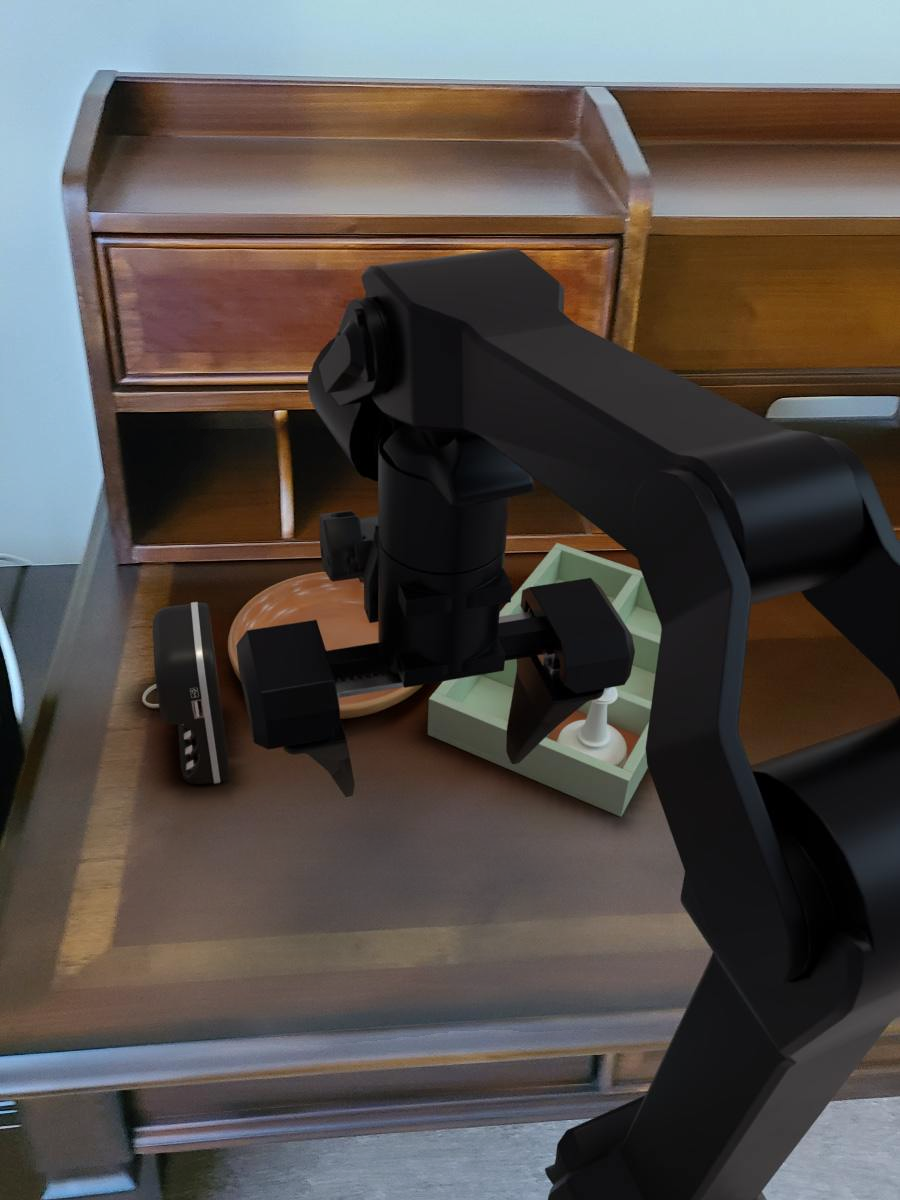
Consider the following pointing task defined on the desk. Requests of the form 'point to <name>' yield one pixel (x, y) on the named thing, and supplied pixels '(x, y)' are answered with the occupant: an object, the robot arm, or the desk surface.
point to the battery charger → (191, 690)
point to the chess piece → (597, 733)
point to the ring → (146, 695)
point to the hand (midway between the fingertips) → (431, 773)
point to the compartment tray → (482, 707)
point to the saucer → (336, 619)
